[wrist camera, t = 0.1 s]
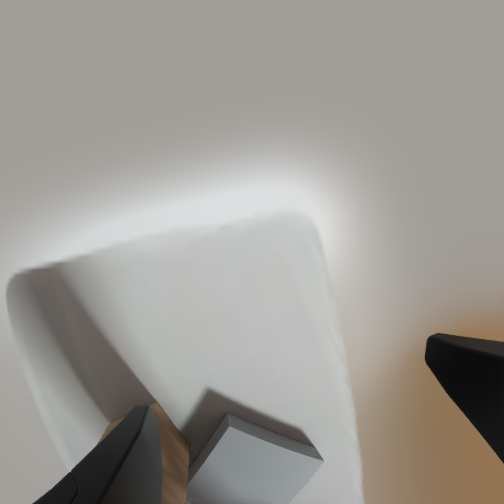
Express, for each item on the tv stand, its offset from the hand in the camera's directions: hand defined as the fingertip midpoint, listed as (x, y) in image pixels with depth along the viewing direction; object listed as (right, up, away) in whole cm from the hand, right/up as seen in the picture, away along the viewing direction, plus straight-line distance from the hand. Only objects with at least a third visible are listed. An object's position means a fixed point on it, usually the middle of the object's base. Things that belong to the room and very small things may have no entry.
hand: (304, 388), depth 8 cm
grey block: (-2, -15, +14) cm, 21 cm away
